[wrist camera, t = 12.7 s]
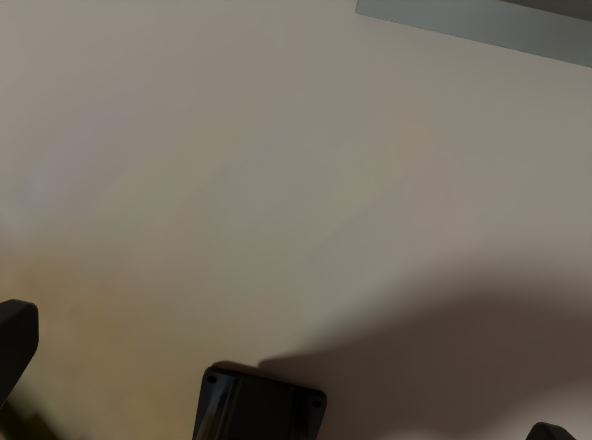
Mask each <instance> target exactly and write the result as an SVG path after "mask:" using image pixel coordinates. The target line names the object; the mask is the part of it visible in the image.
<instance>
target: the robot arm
mask: <svg viewBox="0 0 592 440" xmlns="http://www.w3.org/2000/svg"><path fill="white" fill-rule="evenodd" d="M38 342H39V317H38V308H37V306H36V305H35V304H34V303H30V302H26V301H22V300H18V299H11V300H7V301H5V302H2V303H0V409H1V407H2V406H3V404H4V403H5V401H6V399H7V398H8V396H9V394H10V393H11V391H12V390H13V388H14V386H15V385H16V383H17V382H18V380H19V378H20V377H21V375H22V374H23V372H24V370H25V369H26V367H27V365H28V364H29V362H30V361H31V359H32V357H33V356H34V354H35V352H36V350H37V347H38ZM211 376H215V377H216V378H212V377H211ZM314 400H319V401H320V402H316V401H314ZM326 406H327V397H326V395H325V394H324V393H323V392H321V391H317V390H313V389H309V388H305V387H300V386H296V385H292V384H287V383H283V382H279V381H274V380H270V379H266V378H261V377H257V376H253V375H248V374H244V373H240V372H236V371H231V370H227V369H223V368H218V367H208V368H207V369H206V370H205V373H204V375H203V378H202V384H201V390H200V396H199V402H198V408H197V414H196V420H195V426H194V432H193V438H192V440H316V438H317V435H318V431H319V428H320V425H321V422H322V419H323V416H324V412H325V409H326ZM526 440H576V439H575V438H574V437H573V436H572V435H571V434H570V433H568V432H567V431H566V430H565V429H564V428H562V427H560V426H557V425H553V424H549V423H544V422H538V423H536V424H535V425H534V426H533V427H532V429H531V431H530V433H529V434H528V436H527V438H526Z"/></svg>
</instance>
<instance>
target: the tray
mask: <svg viewBox="0 0 592 440" xmlns="http://www.w3.org/2000/svg"><path fill="white" fill-rule="evenodd" d="M355 12H356V13H357V14H361V15H366V16H370V17H374V18H379V19H383V20H387V21H392V22H396V23H400V24H405V25H409V26H413V27H418V28H422V29H426V30H431V31H435V32H439V33H444V34H448V35H452V36H457V37H461V38H465V39H470V40H474V41H478V42H483V43H487V44H491V45H496V46H500V47H504V48H509V49H513V50H517V51H522V52H526V53H530V54H535V55H539V56H543V57H548V58H552V59H556V60H561V61H565V62H569V63H574V64H578V65H582V66H587V67H591V68H592V0H358V2H357V7H356V11H355Z"/></svg>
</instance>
